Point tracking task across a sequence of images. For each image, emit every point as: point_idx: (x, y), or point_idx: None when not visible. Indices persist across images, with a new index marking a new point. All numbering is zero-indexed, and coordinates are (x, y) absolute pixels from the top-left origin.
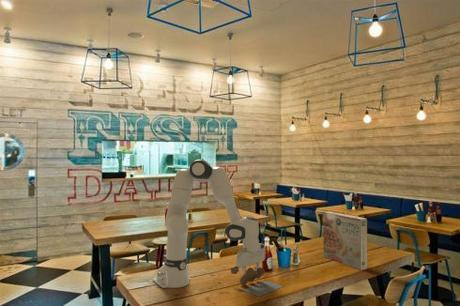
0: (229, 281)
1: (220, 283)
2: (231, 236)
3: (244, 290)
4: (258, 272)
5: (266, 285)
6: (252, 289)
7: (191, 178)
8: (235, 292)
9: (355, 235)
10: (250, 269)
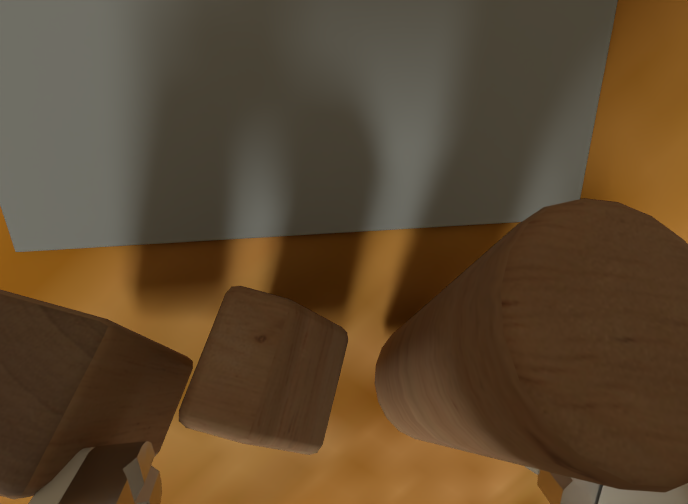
0: (431, 496)
1: (532, 497)
2: None
3: (571, 185)
4: (130, 376)
5: (177, 90)
6: (476, 133)
7: None
8: None
9: None
10: (668, 384)
